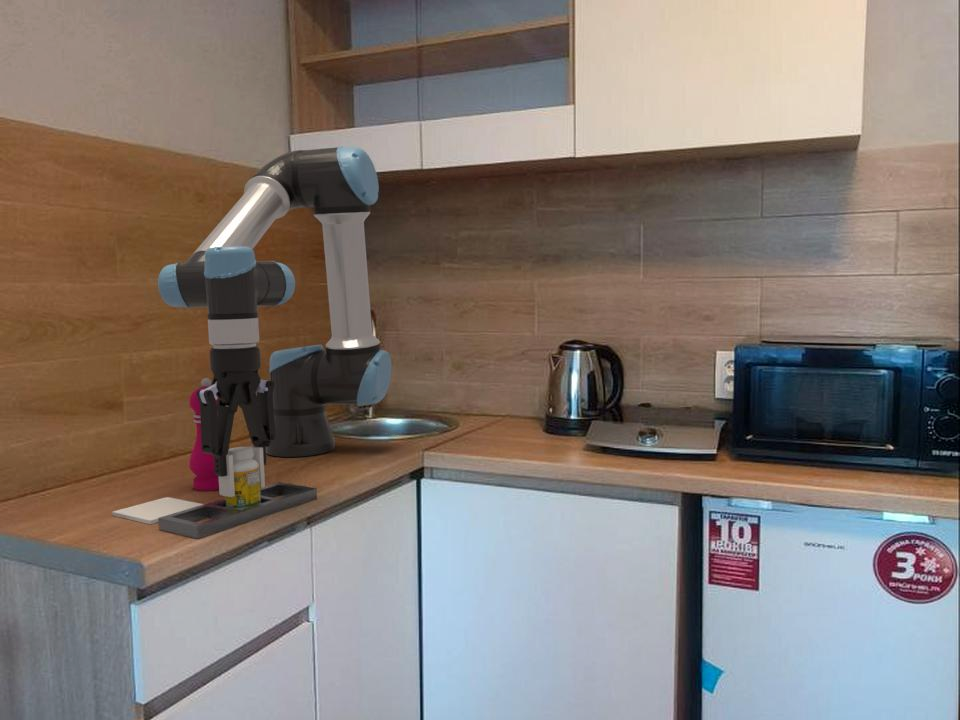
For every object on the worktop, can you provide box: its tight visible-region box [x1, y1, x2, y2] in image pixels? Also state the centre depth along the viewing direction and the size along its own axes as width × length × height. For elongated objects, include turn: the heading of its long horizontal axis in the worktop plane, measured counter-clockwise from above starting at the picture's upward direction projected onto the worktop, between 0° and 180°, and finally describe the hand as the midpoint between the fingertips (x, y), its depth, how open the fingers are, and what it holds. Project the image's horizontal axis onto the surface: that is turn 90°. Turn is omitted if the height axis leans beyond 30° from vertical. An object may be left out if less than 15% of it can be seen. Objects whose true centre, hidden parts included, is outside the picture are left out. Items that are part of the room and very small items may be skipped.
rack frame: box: [157, 481, 318, 540], centre depth 122 cm, size 24×9×2 cm, turn 148°
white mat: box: [111, 496, 204, 525], centre depth 124 cm, size 10×10×1 cm
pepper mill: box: [188, 377, 221, 492], centre depth 139 cm, size 7×7×20 cm
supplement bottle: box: [224, 446, 261, 510], centre depth 122 cm, size 5×5×10 cm
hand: (242, 490), depth 122 cm, fingers closed on supplement bottle, 5 cm apart
